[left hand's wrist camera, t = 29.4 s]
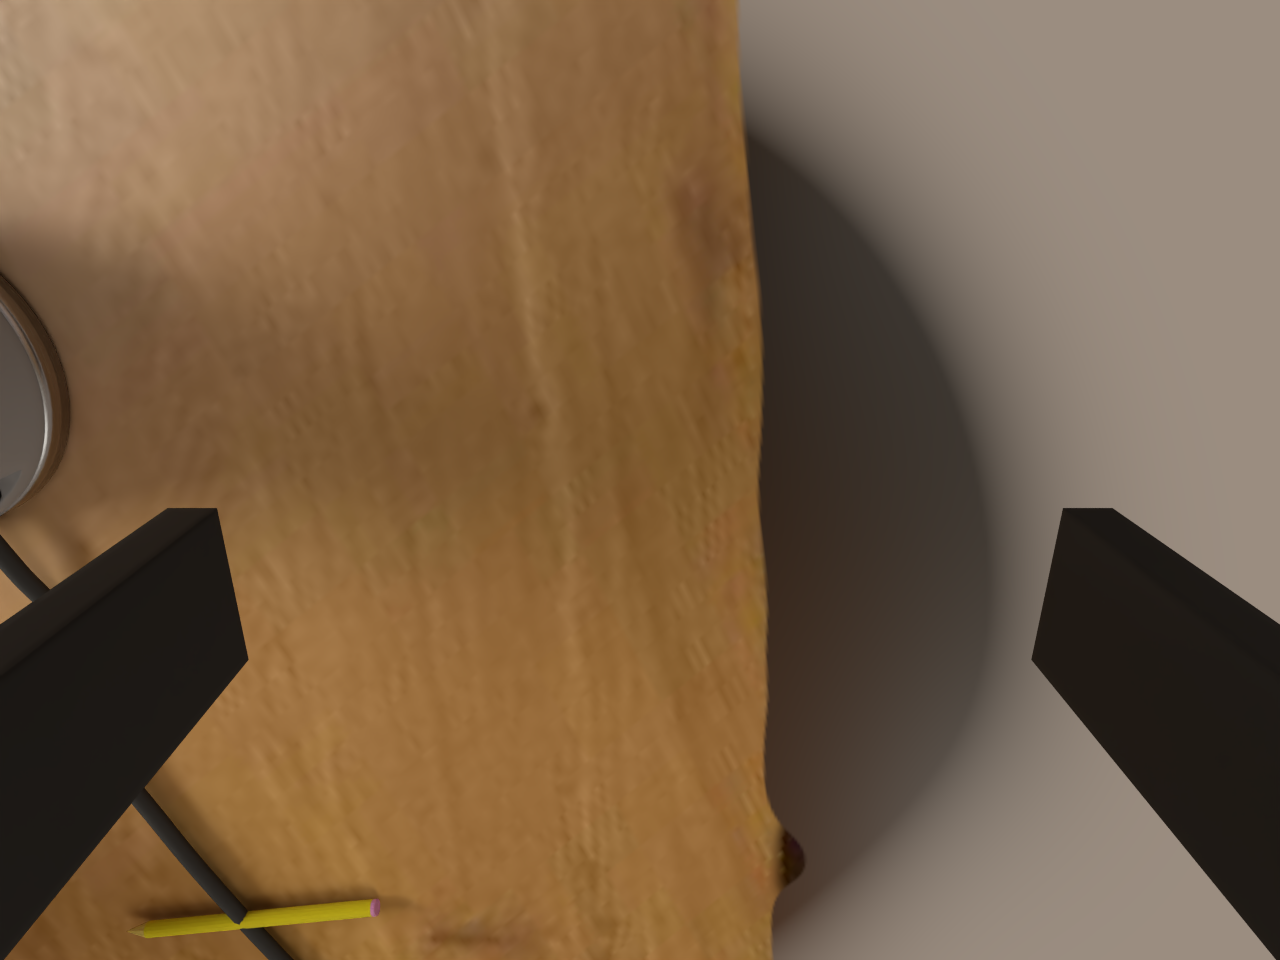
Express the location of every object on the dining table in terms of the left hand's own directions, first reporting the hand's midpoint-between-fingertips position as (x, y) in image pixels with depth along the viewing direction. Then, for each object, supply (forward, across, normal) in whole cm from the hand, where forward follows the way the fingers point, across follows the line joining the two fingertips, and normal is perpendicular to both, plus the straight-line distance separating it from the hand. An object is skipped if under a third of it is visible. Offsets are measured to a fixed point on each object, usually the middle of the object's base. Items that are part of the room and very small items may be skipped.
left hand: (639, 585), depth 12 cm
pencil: (+26, +25, +38) cm, 53 cm away
